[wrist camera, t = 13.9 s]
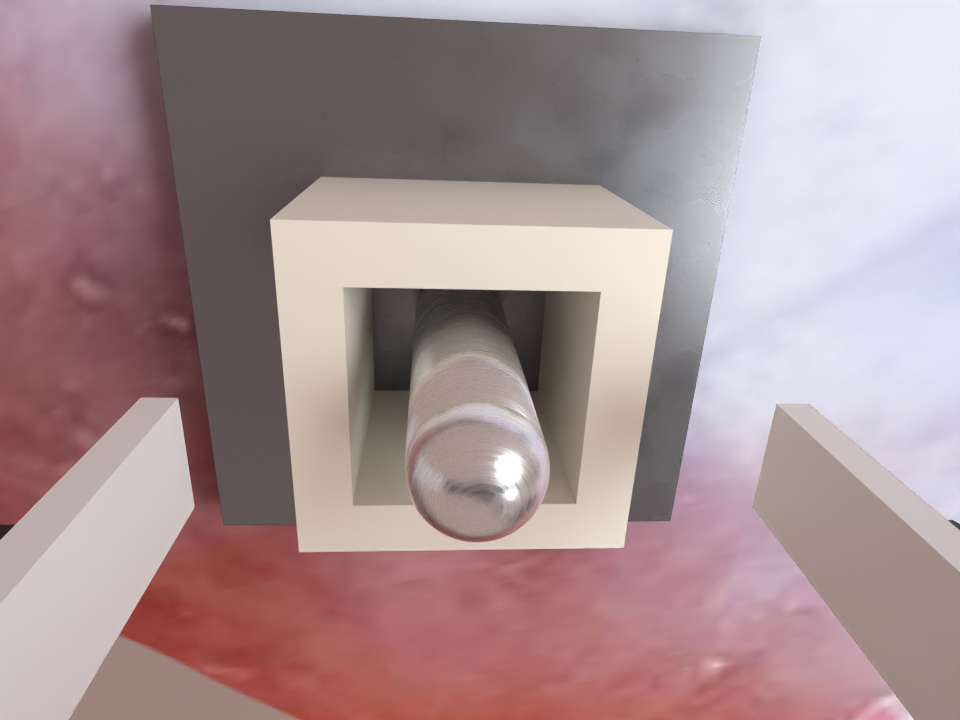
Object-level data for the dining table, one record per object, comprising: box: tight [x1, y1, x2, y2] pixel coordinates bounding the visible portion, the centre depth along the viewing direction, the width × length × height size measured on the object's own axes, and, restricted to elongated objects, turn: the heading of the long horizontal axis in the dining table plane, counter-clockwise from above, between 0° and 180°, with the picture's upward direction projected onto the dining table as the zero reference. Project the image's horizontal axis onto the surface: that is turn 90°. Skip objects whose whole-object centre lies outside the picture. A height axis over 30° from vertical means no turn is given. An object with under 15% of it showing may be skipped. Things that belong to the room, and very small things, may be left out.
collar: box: [270, 177, 673, 552], centre depth 19 cm, size 9×9×7 cm
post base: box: [150, 5, 761, 542], centre depth 18 cm, size 18×18×13 cm
